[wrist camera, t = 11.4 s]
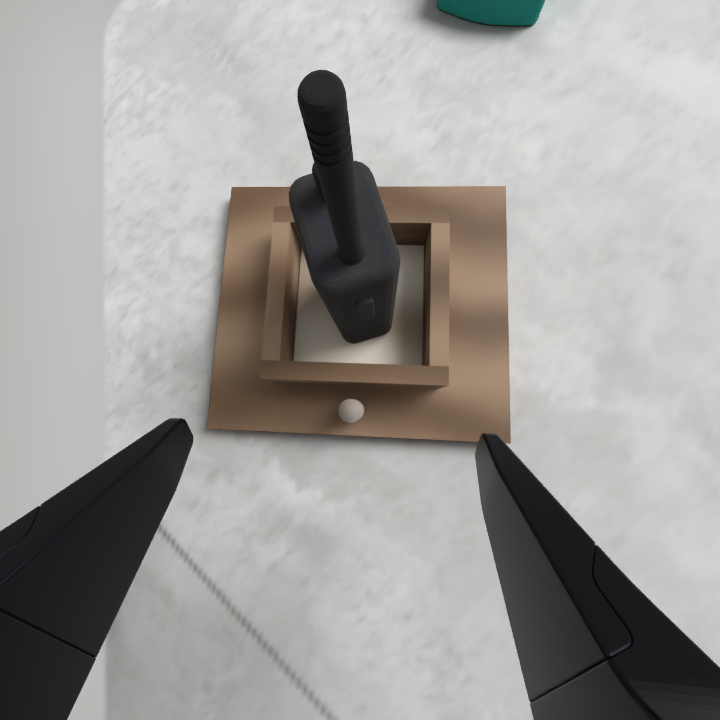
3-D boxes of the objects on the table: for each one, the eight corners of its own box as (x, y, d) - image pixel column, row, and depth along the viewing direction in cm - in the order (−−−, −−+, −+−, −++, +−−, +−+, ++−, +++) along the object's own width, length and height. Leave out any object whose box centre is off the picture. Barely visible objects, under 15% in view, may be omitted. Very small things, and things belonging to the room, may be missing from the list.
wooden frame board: (503, 441, 20) (535, 450, 16) (215, 427, 21) (176, 432, 17) (499, 196, 22) (526, 149, 18) (238, 196, 23) (208, 153, 19)
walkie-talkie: (325, 279, 21) (181, -48, 6) (376, 263, 20) (365, -108, 6) (346, 351, 20) (245, 190, 5) (399, 334, 20) (457, 123, 5)
